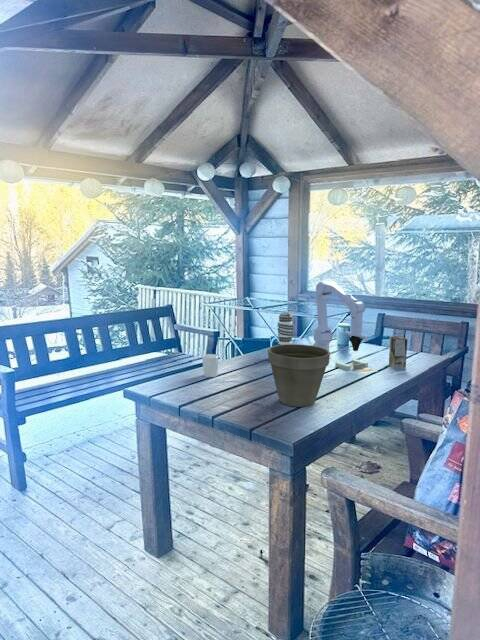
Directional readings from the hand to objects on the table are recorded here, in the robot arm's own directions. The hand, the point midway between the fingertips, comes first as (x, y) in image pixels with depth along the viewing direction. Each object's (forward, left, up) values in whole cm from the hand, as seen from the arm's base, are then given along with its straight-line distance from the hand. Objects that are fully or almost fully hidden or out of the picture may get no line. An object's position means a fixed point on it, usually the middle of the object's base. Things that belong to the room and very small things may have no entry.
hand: (355, 350), depth 238 cm
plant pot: (+26, -58, -10) cm, 64 cm away
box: (-2, 0, -9) cm, 10 cm away
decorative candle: (-42, -14, -10) cm, 46 cm away
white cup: (-27, -71, -10) cm, 77 cm away
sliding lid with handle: (+7, 0, -10) cm, 12 cm away
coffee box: (+11, +20, -10) cm, 25 cm away
